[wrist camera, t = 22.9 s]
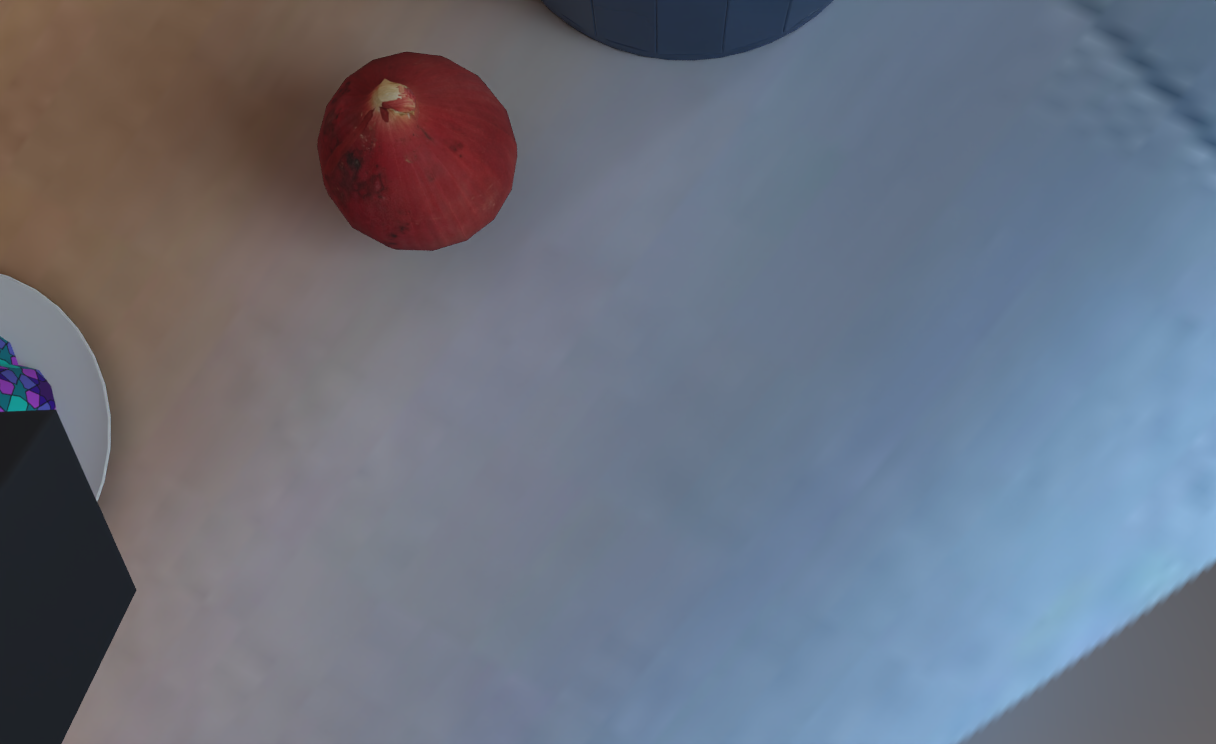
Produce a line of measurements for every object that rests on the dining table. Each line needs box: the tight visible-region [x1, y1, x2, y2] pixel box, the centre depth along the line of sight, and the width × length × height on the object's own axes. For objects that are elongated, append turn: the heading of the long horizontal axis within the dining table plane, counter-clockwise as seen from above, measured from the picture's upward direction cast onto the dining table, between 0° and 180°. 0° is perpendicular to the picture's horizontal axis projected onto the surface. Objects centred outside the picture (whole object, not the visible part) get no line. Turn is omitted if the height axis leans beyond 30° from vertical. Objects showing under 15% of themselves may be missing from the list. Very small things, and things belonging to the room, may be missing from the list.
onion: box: [317, 52, 517, 251], centre depth 33 cm, size 6×6×8 cm
